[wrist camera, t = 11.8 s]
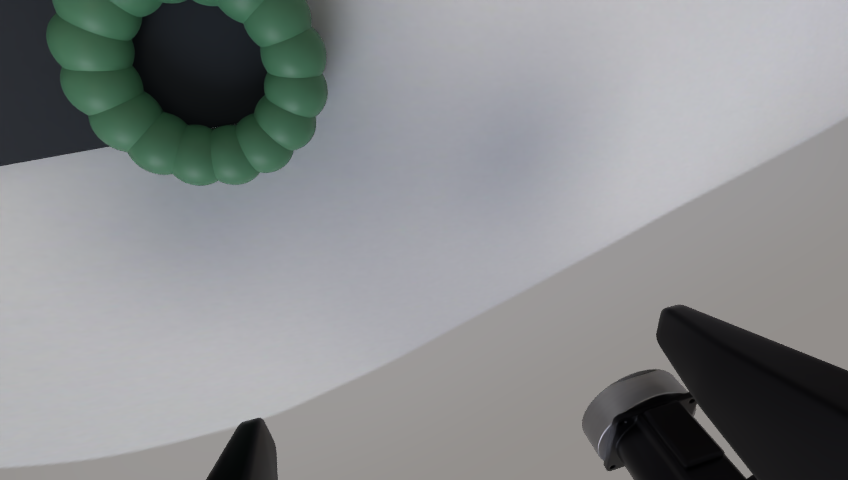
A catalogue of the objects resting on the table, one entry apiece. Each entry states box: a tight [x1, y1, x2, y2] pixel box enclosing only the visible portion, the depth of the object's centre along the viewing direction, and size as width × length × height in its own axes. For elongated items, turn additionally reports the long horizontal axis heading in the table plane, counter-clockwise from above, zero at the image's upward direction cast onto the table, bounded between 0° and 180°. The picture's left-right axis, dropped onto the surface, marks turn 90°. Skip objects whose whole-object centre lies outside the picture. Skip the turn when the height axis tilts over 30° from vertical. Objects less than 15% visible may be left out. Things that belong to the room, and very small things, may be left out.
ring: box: [46, 0, 328, 186], centre depth 13 cm, size 8×8×2 cm
